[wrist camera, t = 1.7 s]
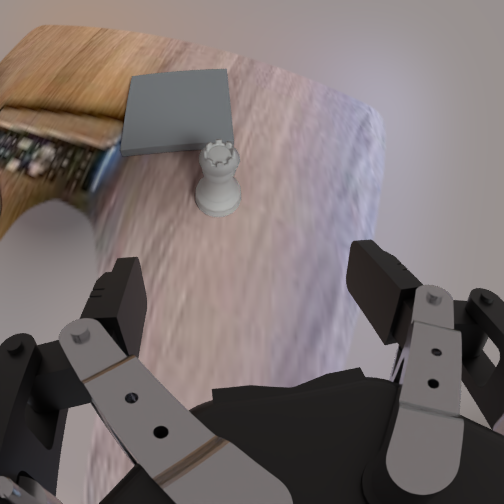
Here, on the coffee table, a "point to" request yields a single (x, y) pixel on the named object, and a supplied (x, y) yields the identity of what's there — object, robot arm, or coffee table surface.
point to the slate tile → (177, 112)
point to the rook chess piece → (218, 179)
